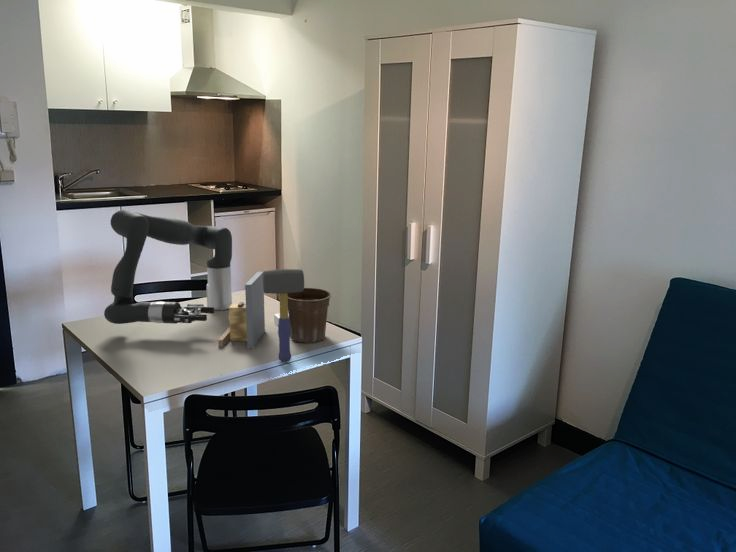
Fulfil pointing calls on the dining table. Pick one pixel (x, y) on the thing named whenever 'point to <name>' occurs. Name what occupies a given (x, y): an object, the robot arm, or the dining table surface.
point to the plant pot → (308, 314)
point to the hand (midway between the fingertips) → (210, 313)
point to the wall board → (251, 312)
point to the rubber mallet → (283, 302)
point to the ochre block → (238, 322)
